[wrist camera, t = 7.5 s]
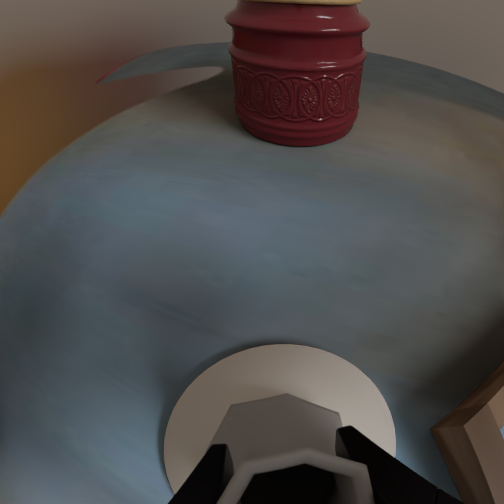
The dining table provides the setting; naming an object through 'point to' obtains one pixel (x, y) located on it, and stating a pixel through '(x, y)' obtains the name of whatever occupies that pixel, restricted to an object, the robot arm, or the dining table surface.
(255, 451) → the flask
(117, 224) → the dining table surface
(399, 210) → the dining table surface
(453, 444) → the walnut collar
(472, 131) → the dining table surface
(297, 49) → the canister
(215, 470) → the robot arm
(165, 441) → the ceramic plate
